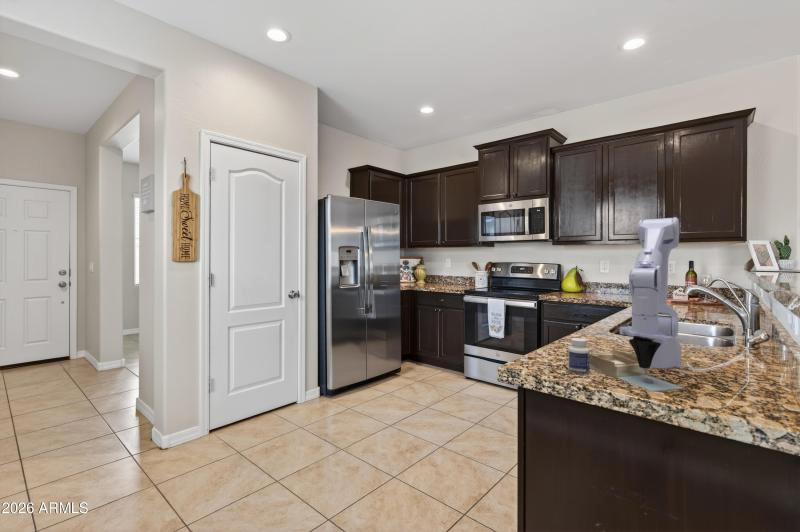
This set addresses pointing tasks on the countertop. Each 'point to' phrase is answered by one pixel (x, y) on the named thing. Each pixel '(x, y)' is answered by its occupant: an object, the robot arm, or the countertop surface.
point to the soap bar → (618, 363)
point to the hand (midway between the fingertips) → (644, 367)
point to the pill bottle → (579, 356)
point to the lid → (649, 383)
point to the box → (609, 368)
